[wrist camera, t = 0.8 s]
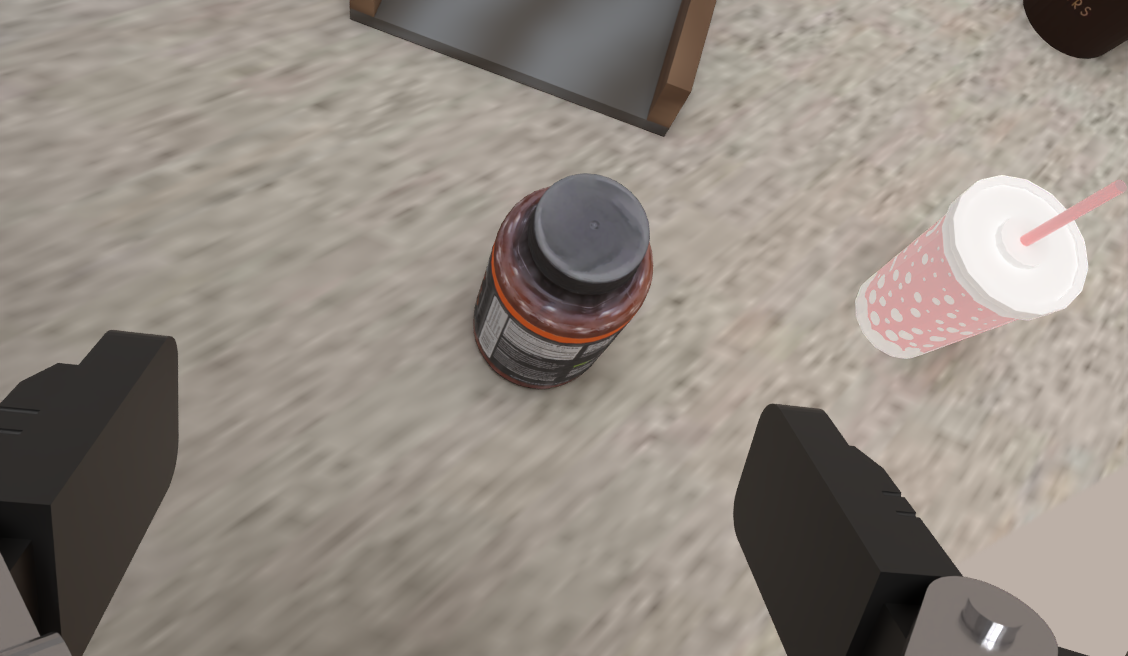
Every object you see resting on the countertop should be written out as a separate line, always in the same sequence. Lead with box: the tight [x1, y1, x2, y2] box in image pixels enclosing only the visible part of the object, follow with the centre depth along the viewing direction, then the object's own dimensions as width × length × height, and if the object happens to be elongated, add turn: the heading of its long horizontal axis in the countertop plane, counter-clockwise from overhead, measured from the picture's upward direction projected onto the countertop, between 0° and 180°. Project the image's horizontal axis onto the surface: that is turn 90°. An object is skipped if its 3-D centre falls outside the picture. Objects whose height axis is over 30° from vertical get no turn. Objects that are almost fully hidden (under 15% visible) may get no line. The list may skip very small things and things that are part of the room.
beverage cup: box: [855, 175, 1127, 359], centre depth 37 cm, size 6×6×14 cm
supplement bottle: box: [474, 173, 653, 389], centre depth 34 cm, size 6×6×11 cm
